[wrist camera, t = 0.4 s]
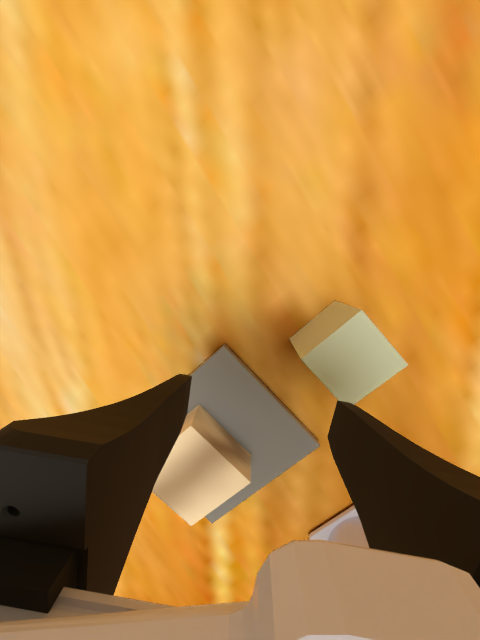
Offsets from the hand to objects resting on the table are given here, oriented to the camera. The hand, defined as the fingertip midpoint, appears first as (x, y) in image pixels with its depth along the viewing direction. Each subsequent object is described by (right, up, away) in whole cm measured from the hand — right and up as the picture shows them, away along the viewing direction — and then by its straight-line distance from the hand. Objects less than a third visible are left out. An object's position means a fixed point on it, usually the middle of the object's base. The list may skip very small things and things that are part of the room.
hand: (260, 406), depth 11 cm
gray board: (-3, -7, +11) cm, 14 cm away
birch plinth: (-5, -8, +12) cm, 15 cm away
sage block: (+7, +2, +9) cm, 12 cm away
